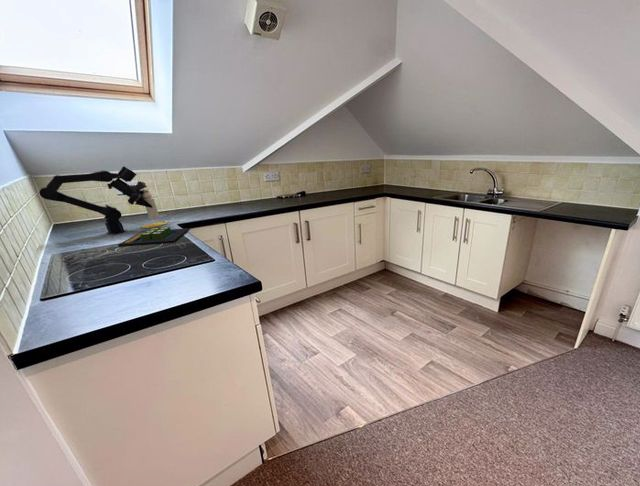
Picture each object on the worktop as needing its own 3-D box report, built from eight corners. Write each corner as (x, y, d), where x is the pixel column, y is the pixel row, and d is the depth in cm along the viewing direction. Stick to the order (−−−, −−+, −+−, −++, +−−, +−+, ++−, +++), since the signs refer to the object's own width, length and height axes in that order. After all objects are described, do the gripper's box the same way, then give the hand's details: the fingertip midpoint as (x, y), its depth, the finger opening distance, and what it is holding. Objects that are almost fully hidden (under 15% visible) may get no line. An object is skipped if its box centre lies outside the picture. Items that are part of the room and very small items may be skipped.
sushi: (142, 232, 169) (140, 226, 168) (190, 229, 174) (188, 223, 172) (118, 246, 147) (116, 239, 145) (174, 242, 151) (172, 235, 150)
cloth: (148, 228, 178) (148, 227, 178) (140, 227, 181) (140, 226, 181) (168, 223, 188) (167, 223, 188) (160, 222, 191) (160, 222, 191)
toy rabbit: (157, 218, 176) (148, 189, 169) (147, 218, 175) (138, 189, 168) (160, 216, 181) (152, 188, 174) (151, 216, 180) (142, 188, 173)
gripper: (127, 178, 159) (157, 198, 167) (138, 175, 175) (165, 193, 183) (115, 194, 160) (145, 213, 168) (127, 190, 176) (154, 207, 184)
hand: (153, 206), depth 176 cm, fingers closed on toy rabbit, 5 cm apart
